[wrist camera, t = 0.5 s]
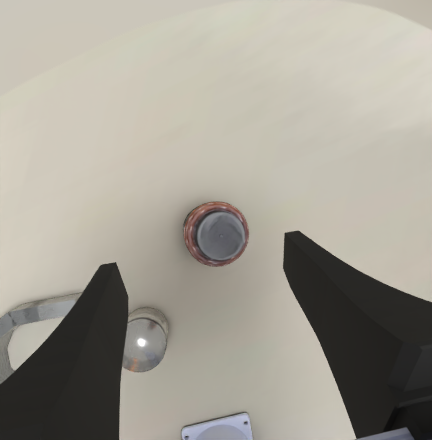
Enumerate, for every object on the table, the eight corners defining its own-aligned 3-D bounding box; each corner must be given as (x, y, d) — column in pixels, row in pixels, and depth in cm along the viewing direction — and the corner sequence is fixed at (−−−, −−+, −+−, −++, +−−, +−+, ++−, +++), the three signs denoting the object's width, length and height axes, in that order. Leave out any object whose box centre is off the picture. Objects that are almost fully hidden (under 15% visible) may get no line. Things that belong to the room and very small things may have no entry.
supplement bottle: (175, 244, 36) (171, 256, 25) (194, 196, 36) (200, 187, 25) (222, 263, 37) (240, 283, 25) (241, 216, 37) (267, 215, 26)
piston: (171, 346, 36) (170, 366, 31) (127, 355, 36) (118, 377, 31) (164, 303, 36) (161, 316, 31) (119, 311, 35) (109, 327, 30)
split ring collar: (100, 387, 35) (93, 403, 32) (3, 409, 34) (-14, 427, 31) (83, 292, 35) (74, 299, 32) (-16, 311, 34) (-35, 319, 31)
